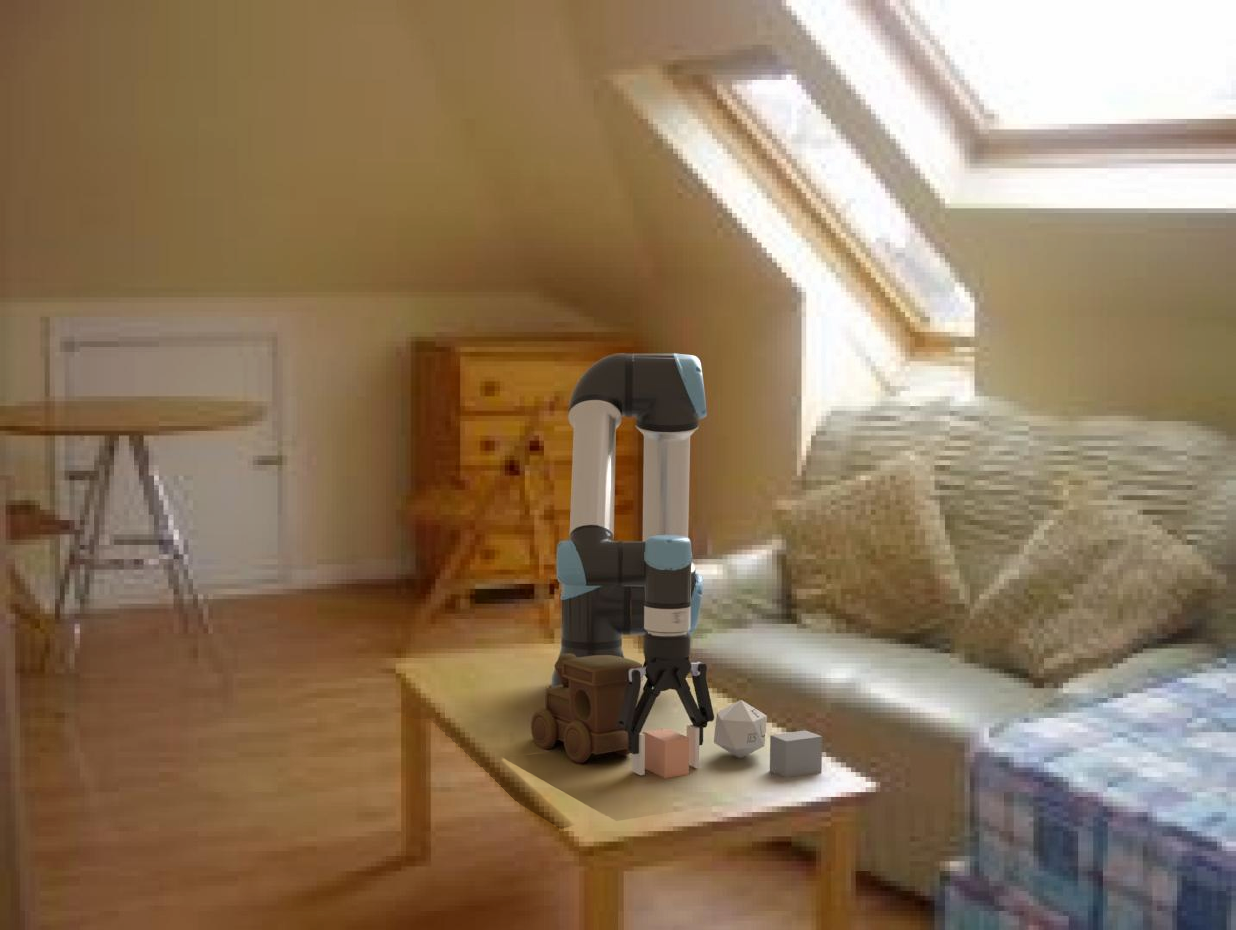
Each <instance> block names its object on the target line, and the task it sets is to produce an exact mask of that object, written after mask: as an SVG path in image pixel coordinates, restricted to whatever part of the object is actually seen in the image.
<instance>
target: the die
mask: <svg viewBox="0 0 1236 930" xmlns="http://www.w3.org/2000/svg"><path fill="white" fill-rule="evenodd" d="M767 719H768V715H766V714H765V713H763V712H762V711H760V710H759V709H757V708H755V707H753V706H751V705H750V704H749V703H747V702H746V701H745V700H742V699H740V700H738V701H736V702H734V703H733V704H730V705H728V706H726V707H724V708H723V709H721V710H719V711H717V712H716V718H715V726H714V737H713V743H714V744H715V745H717V746H719V748H722V749H723V750H725V751H727V752H728V753H730V754H731V755H733V756H735V757H737V758H739V759H742V758H744V757H746V756H749V754H752V753H754V752H756V751H758V750H759V749H762V748H763V747H765V743H766V732H767V721H768V720H767Z"/></svg>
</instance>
